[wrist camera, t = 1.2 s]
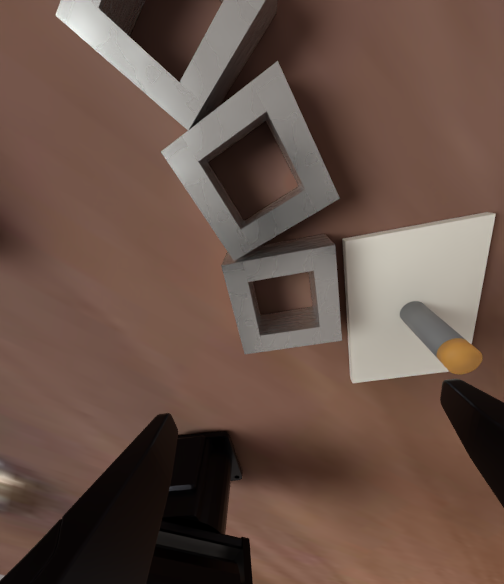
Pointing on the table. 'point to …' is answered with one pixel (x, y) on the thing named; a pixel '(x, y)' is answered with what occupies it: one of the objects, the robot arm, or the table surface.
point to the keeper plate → (415, 297)
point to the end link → (293, 323)
